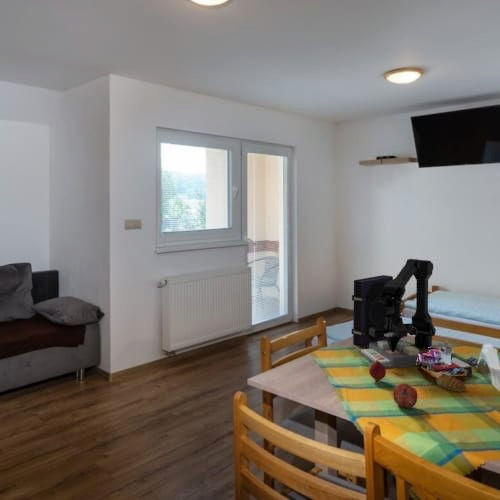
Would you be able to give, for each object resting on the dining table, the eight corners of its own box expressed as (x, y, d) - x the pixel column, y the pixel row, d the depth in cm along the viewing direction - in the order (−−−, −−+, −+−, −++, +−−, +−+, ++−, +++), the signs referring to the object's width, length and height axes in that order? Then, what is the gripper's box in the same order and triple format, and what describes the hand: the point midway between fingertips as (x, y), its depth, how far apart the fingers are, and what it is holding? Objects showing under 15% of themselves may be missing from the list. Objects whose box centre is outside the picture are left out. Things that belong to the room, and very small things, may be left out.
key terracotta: (394, 356, 193) (394, 349, 192) (400, 360, 188) (400, 352, 188) (384, 357, 192) (385, 350, 191) (390, 360, 187) (390, 353, 187)
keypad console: (397, 349, 205) (397, 340, 205) (424, 365, 185) (424, 355, 185) (357, 352, 202) (357, 343, 201) (380, 368, 181) (380, 359, 181)
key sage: (404, 348, 197) (404, 341, 196) (410, 351, 192) (410, 344, 192) (395, 349, 196) (395, 342, 196) (400, 352, 192) (400, 345, 191)
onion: (386, 379, 170) (387, 358, 169) (384, 385, 165) (384, 363, 164) (370, 377, 172) (370, 356, 172) (367, 382, 167) (368, 361, 166)
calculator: (419, 359, 182) (455, 355, 184) (420, 370, 182) (455, 366, 184) (435, 369, 171) (472, 365, 173) (435, 380, 171) (472, 376, 173)
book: (381, 334, 229) (382, 274, 226) (392, 337, 224) (393, 276, 221) (351, 344, 214) (352, 280, 211) (362, 347, 209) (363, 281, 206)
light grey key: (387, 347, 199) (387, 340, 198) (392, 350, 194) (392, 343, 194) (377, 348, 198) (377, 341, 198) (382, 351, 193) (382, 344, 193)
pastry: (470, 390, 160) (470, 379, 160) (458, 395, 156) (459, 384, 156) (445, 381, 168) (446, 371, 167) (434, 386, 164) (434, 375, 164)
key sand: (412, 353, 190) (413, 346, 190) (418, 356, 186) (419, 349, 186) (403, 354, 190) (403, 346, 189) (408, 357, 185) (409, 350, 185)
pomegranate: (393, 407, 152) (386, 397, 145) (400, 386, 155) (394, 376, 148) (416, 415, 148) (410, 406, 141) (422, 393, 150) (417, 383, 143)
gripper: (381, 320, 179) (380, 359, 180) (425, 317, 182) (424, 356, 184) (368, 313, 189) (368, 351, 191) (410, 311, 193) (409, 347, 195)
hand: (392, 351), depth 190 cm, fingers closed, pressing on key terracotta
